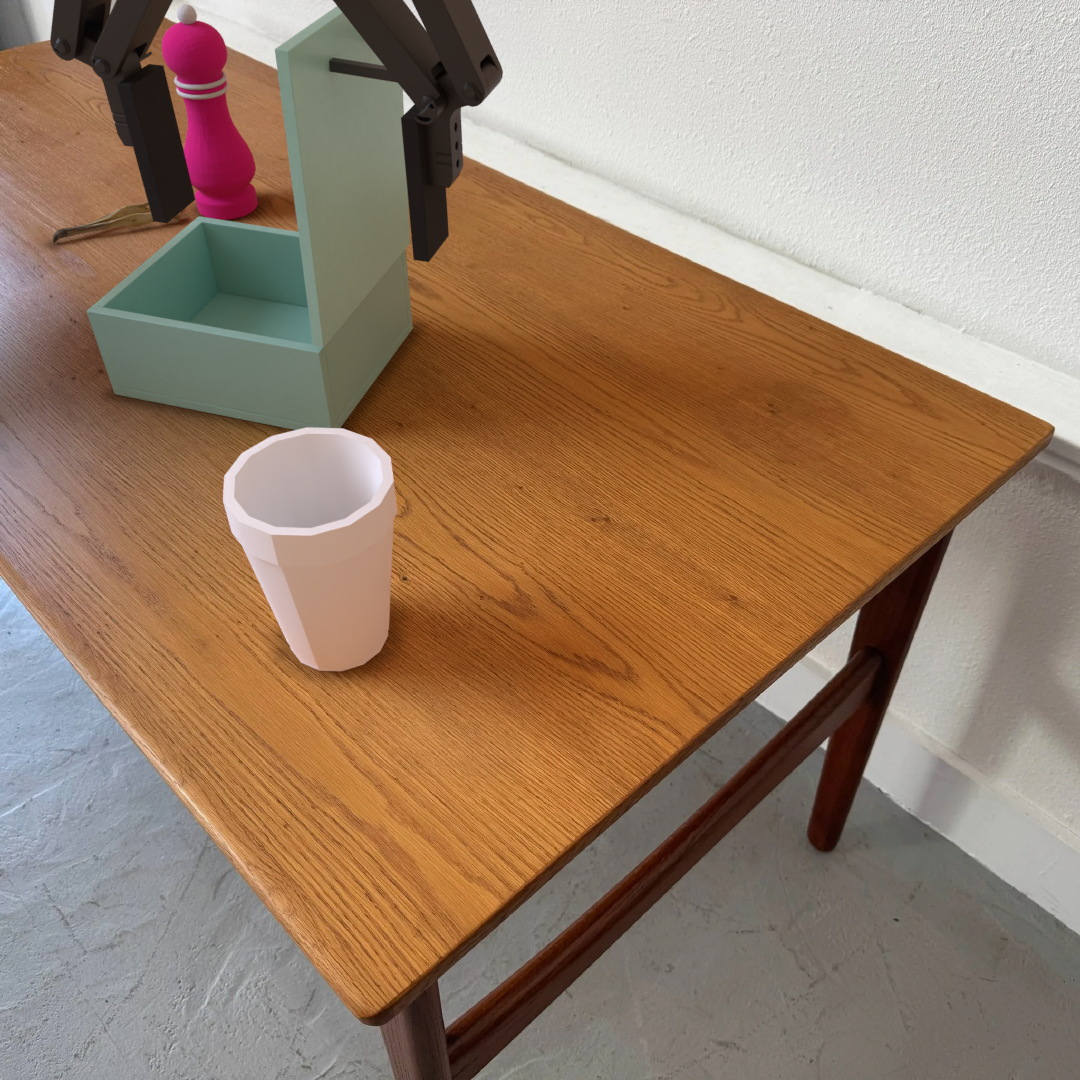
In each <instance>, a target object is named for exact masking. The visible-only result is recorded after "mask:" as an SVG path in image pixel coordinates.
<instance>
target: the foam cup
mask: <svg viewBox="0 0 1080 1080" xmlns="http://www.w3.org/2000/svg"><path fill="white" fill-rule="evenodd" d="M392 464H393V463H392V457H391V456H390V455H389V454H388V453H387V452H386V451H385V450H384V449H383V448H382V447H381V446H380V445H379V444H378V443H377V441H375V440H374V438H372V437H368V436H365V435H362V434H360V433H357V432H354V431H351V430H349V429H346V428H342V427H341V428H309V427H306V428H302V429H298V430H291V431H290V430H289V431H286V432H282V433H277V434H274V435H270V436H269V437H267V438H264V440H262V441H260V442H258V443H256V444H255V445H253V446H251V447H249V448H248V449H247V450H244V451H243V452H241V453H240V455H239V456H238V457H237V458H236V460H235V461H234V463H233V464H232V465H231V466H230V468H229V469H228V470H227V472H226V473H225V474H224V476H223V491H222V492H223V493H222V502H223V506H224V510H225V514H226V517H227V520H228V524H229V528H230V531H231V534H232V535H233V536H234V538H235V539H236V540H237V542H238V543H239V544H240V545H241V547H242V549H243V550H244V553H245V556H246V558H247V560H248V562H249V564H250V566H251V568H252V570H253V572H254V575H255V577H256V579H257V581H258V583H259V585H260V587H261V590H262V591H263V594H264V596H265V598H266V600H267V602H268V605H269V606H270V609H271V611H272V613H273V615H274V617H275V620H276V621H277V624H278V626H279V627H280V630H281V632H282V634H283V636H284V639H285V640H286V643H287V644H288V646H289V649H290V650H291V652H292V653H293V654H294V656H295V657H296V658H297V660H298V661H299V662H300V663H301V664H302V665H305V666H308V667H310V668H312V669H314V670H317V671H320V672H344V671H349V670H351V669H354V668H357V667H360V666H364V665H365V664H366V663H368V662H369V661H370V660H371V659H372V658H374V657H375V656H377V655H378V654H379V653H380V652H381V651H382V649H383V647H384V645H385V643H386V641H387V639H388V637H389V630H390V615H391V614H390V612H391V594H392V593H391V592H392V591H391V590H392V572H393V571H392V568H393V549H394V548H393V546H394V524H395V521H394V519H395V518H396V516H397V515H398V504H397V496H396V487H395V480H394V473H393V472H394V471H393V465H392Z"/></svg>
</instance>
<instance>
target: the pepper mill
mask: <svg viewBox="0 0 1080 1080" xmlns="http://www.w3.org/2000/svg"><path fill="white" fill-rule="evenodd" d="M176 16H177V19H178V21H179V22H176V23H174V24H172V25H171V26H170V27H169V28H168V29H167V30H166V31H165V33H164V35H163V37H162V41H161V51H162V54H161V55H162V58H163V61H164V62H165V64H166V66H167V67H168V69H169V70H170V71H172V72H173V73H174V74H175V75H176V76H175V77H174V78H173V83H174V84H175V85H176V94H177V95H178V96H179V97H181V98H182V99H183V103H184V106H185V110H186V111H185V112H186V118H187V130H186V135H185V141H184V146H183V150H184V154H185V158H186V162H187V167H188V171H189V175H190V179H191V183H192V187H193V188H195V189H196V191H195V192H194V196H195V203H196V207H197V210H198V213H199V214H200V215H201V216H202V217H206V218H213V219H219V220H226V221H231V220H235V219H239V218H244V217H246V216H249V215H250V214H252V213H253V212H254V211H255V210H256V209H257V207H258V205H259V202H258V197H257V192H256V188H255V186H254V184H252V183H251V182H252V181H253V179H254V177H255V175H256V171H257V170H256V169H257V167H256V162H255V158H254V155H253V153H252V151H251V149H250V147H249V144H248V143H247V141H246V140H245V139H244V137H243V136H242V135H241V133H240V131H239V130H238V128H237V127H236V125H235V124H234V121H233V119H232V117H231V113H230V110H229V106H228V101H227V92H228V90H229V88H230V86H229V83H228V81H227V79H228V75H227V73H226V72H225V71H223V70H224V68H225V67H226V64H227V61H228V49H227V45H226V42H225V40H224V38H223V36H222V33H220V32H219V31H218V29H216V28H215V27H214V26H213V25H211V24H209V23H207V22H204V21H201V20H197V19H198V14H197V11H196V9H195V8H194V7H193V6H192V5H190V4H187V3H185V4H181V5H179V7H178V8H177V11H176Z"/></svg>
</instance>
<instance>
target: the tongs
mask: <svg viewBox="0 0 1080 1080" xmlns="http://www.w3.org/2000/svg"><path fill="white" fill-rule="evenodd" d="M182 215H183V213H182V211H181V212H180V213H179V214H178V215H176V216H175V217H174V218H173V219H172V220H176V221H180V219H181V218H182ZM151 223H155V222H154V221H153V218H152V215H151V211H150V207H149V204H148V201H145V202H141V203H135V204H128V205H125V206H123V207H120V208H118V209H116V210H113V211H112V212H110V213H108V214H106V215H103V216H102V217H100V218H98V219H95V220H92V221H90V222H87V223H84V224H80V225H75V226H69V227H63V228H60V229H57V230H56V231H55V232H54V233H53V235H52V239H51V241H52V244H53V245H55V244H56V243H57V241H58V240H60V239H64V238H69V237H74V236H77V235H82V234H87V233H93V232H98V231H104V230H109V229H112V228H117V227H118V228H120V227H141V226H144V225H147V224H151Z"/></svg>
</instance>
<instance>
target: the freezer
mask: <svg viewBox="0 0 1080 1080" xmlns="http://www.w3.org/2000/svg"><path fill="white" fill-rule="evenodd" d="M407 258H408V257H407V248H406V249H405V250H404V251H403V252H402V254H401V255H400V256H399V257H398V258H397V260H396V261H395V262H394V263H393V265H392V266H391V267H390V268H389V269H388V271H387V272H386V273H385V274H384V275H383V277H382V278H381V279H380V280H379V281H378V283H377V284H376V285H375V286H374V288H373V289H372V290H371V291H370V292H369V294H368V295H367V296H366V297H365V298H364V300H363V301H362V302H361V303H360V304H359V306H358V307H357V308H356V309H355V311H354V312H353V313H352V314H351V315H350V317H349V318H348V319H347V320H346V321H345V323H344V324H343V325H342V326H341V327H340V329H339V330H338V331H337V332H336V334H335V335H334V336H333V337H332V338H331V340H330V341H329V342H328V343H327V344H326V346H325V347H324V348H323V347H318V346H314V345H313V342H312V334H311V326H310V319H309V311H308V303H307V295H306V288H305V280H304V272H303V264H302V257H301V249H300V241H299V233H298V230H297V231H296V230H291V229H285V228H284V229H283V228H278V227H271V226H263V225H257V224H252V223H245V222H239V221H232V220H219V219H213V218H206V217H205V216H197V217H196V218H195V219H193V220H192V221H191V222H190V223H189V224H187V226H185V227H184V228H183V229H182V230H180V232H178V233H177V234H176V235H174V236H173V237H172V238H171V239H170V240H168V242H166V243H165V244H164V245H163V246H161V247H160V248H159V249H158V250H156V251H155V252H154V253H153V254H152V255H151V256H150V257H148V258H147V259H146V260H145V261H143V262H142V263H141V264H140V265H139V266H138V267H136V268H135V269H134V270H133V271H132V272H131V273H130V274H128V275H127V276H126V277H125V278H124V279H122V280H121V281H120V282H119V283H117V284H116V285H115V286H114V287H113V288H112V289H110V290H109V291H108V292H107V293H106V294H104V295H103V296H102V297H101V298H99V299H98V300H97V301H96V302H95V303H93V305H91V307H89V308H88V309H87V310H86V314H87V317H88V320H89V323H90V326H91V329H92V332H93V336H94V338H95V340H96V344H97V347H98V350H99V353H100V357H101V359H102V361H103V365H104V368H105V370H106V373H107V377H108V379H109V382H110V385H111V388H112V391H113V393H114V395H116V396H121V397H126V398H130V399H131V398H132V399H135V400H141V401H147V402H150V403H151V402H152V403H157V404H161V405H167V406H172V407H177V408H181V409H186V410H191V411H197V412H202V413H207V414H212V415H218V416H223V417H226V418H227V417H228V418H233V419H238V420H243V421H247V422H251V423H252V422H253V423H258V424H263V425H268V426H272V427H278V428H283V429H288V430H291V431H294V430H298V429H302V428H306V427H309V428H342V427H343V425H344V424H345V422H346V421H347V419H348V418H349V417H350V415H351V414H352V413H353V412H354V410H355V409H356V407H357V406H358V405H359V403H360V402H361V401H362V399H363V398H364V397H365V395H366V394H367V392H368V391H369V390H370V388H371V387H372V385H373V384H374V383H375V382H376V381H377V378H379V376H380V374H381V373H382V372H383V370H384V369H385V368H386V366H387V365H388V364H389V362H390V361H391V360H392V358H393V357H394V356H395V354H396V352H397V351H398V349H399V348H400V347H401V345H402V344H403V343H404V341H405V340H406V339H407V338H408V336H409V334H410V333H411V332H412V330H413V329H414V324H413V313H412V302H411V292H410V291H411V290H410V280H409V271H408V259H407Z"/></svg>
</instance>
